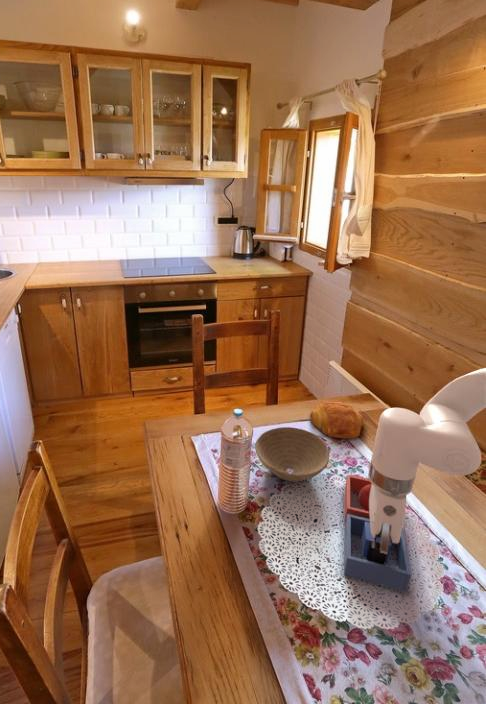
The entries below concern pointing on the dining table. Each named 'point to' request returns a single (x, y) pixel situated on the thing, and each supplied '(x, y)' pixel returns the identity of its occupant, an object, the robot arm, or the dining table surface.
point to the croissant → (337, 419)
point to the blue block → (368, 539)
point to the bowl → (292, 453)
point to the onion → (365, 497)
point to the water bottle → (235, 463)
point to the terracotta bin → (354, 486)
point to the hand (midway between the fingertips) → (374, 549)
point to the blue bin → (371, 569)
